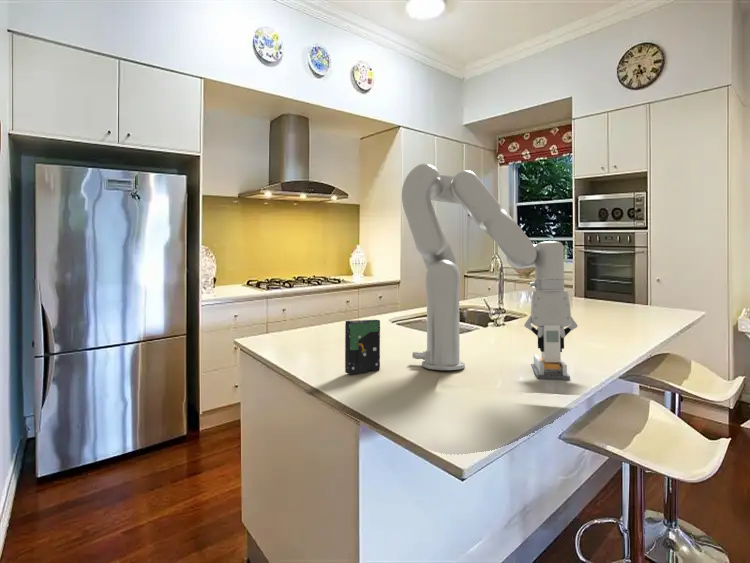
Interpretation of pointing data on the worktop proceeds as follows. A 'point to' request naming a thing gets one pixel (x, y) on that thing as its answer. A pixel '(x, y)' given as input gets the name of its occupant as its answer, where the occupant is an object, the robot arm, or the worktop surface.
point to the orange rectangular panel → (550, 365)
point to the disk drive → (362, 346)
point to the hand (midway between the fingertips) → (550, 350)
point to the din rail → (549, 370)
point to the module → (551, 343)
